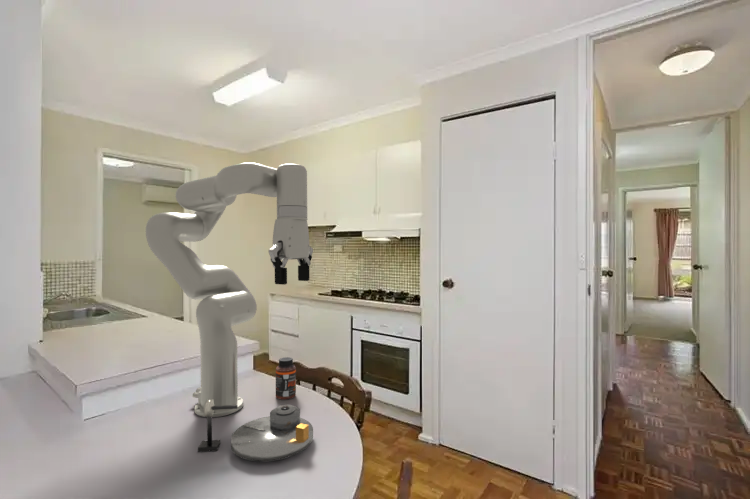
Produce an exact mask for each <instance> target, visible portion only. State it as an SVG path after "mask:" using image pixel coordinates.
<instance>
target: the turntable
mask: <svg viewBox="0 0 750 499" xmlns="http://www.w3.org/2000/svg"><path fill="white" fill-rule="evenodd" d="M313 440H314V427H313V425H312V423H311V422H309V421H308V420H307V419H304V418H302V417H300V424H299V425H298V426H297V427H296V428H295V429H293V430H289V431H275V430H273V429H271V428H270V415H268V416H264V417H259V418H256V419H253V420H250V421H248V422H246V423H244V424H242V425H241V426H239V427H238V428H237V429H235V430H234V432H233V433H232V435H231V438H230V445H231V446H230V448H231V451H232V453H233V454H234V455H236V456H237V457H239V458H241V459H244V460H247V461H253V462H272V461H278V460H279V461H280V460H283V459H287V458H291V457H293V456H295V455H297V454H299V453H301V452H303V451H304V450H306V449H307V448H308V447H310V445H311V443H312V442H313Z"/></svg>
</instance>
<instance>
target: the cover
mask: <svg viewBox="0 0 750 499" xmlns="http://www.w3.org/2000/svg"><path fill="white" fill-rule="evenodd" d="M269 416H270V428H271V429H273V430H275V431H289V430H293V429H295V428H296V427H297V426H298V425H299V424H300V418H301V409H300V408H299V407H298V406H295V405H292V404H282V405H281V404H280V405H279V406H277V407H275V408H273V409H271V410H270V412H269Z"/></svg>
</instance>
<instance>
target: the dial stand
mask: <svg viewBox="0 0 750 499" xmlns="http://www.w3.org/2000/svg"><path fill="white" fill-rule="evenodd" d="M237 408H238V405H224V406H215V404H214V400H213V399H208V400H206V402H205V406H204V416H205V417H204V418H206V440H201V442H200V443H199V445H198V447H197V453H205V452H206V453H207V452H218V450H219V448H220V446H221V444H222V440H221V439H213V420H212V419H213V417H212V415H213V413H214V410H219V409H237Z"/></svg>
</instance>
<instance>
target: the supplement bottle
mask: <svg viewBox="0 0 750 499" xmlns="http://www.w3.org/2000/svg"><path fill="white" fill-rule="evenodd" d="M293 360H294V359H293V358H292V357H288V356H287V357H286V356H285V357H281V358H279V359H278V366H276V368H275V398H276V399H278V400H281V401H282V400H284V401H289V400H291V399H293V398H295V397H296V395H297V394H296V392H297V387H296V386H297V368H296V365H295V364H294V361H293Z"/></svg>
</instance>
